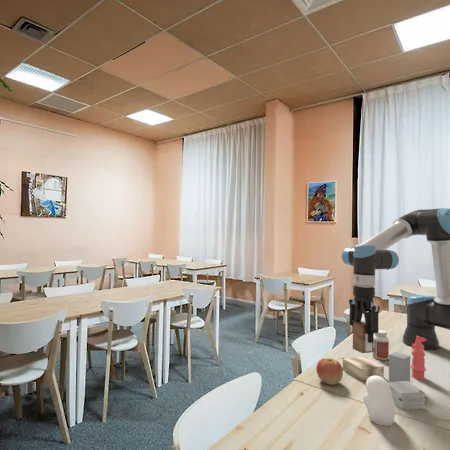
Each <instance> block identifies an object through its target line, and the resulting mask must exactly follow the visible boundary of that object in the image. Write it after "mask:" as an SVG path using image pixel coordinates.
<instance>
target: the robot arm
mask: <svg viewBox="0 0 450 450" xmlns="http://www.w3.org/2000/svg"><path fill="white" fill-rule="evenodd" d="M412 236H426V241H427V242H428V243H430V245H431V252H432V253H431V255H432V261H433V263H432V264H433V270H434V271H433V272H434V280H435V288H436V296H434V295H410V296H408V297H407V302H406V327H405V330H404V331H403V335H402V342H403V344H405V345H408V346H410V347H412V344H415V341H416V338H417V337H416V336H420V337H422V338H425V339H426V340H427V341H424V342H422V343H421V344H422V345H424V350H437V349H439V348H440V341H439V339H438V335H437V332H436V327H437V328H441V329H445V330H449V331H450V208H449V207H448V208H445V207H443V208H442V207H441V208H428V209H416V210H413V211H411V212H408V213H406V214H404V215H402V216H400V217H399V218H396V219H394V221H393V222H392V224H391V225H390V226H388V227H386V228H384V229H383V230H381V231H379V232H378V233H377V234H375V235H373V236H372V237H370V238H369V239H367V240H365V241H364V242H363V243H360V244H356V245H354V246H353V247H346V248H344V249H343V251H342V253H341V259H342V262H343V263H344V264H345V265H347V266H350V267H351V266H352V267H353V277H352V278H353V286H352V294H353V296H354V298H350V299H348V303H349V318H348V319H349V325H350V326H352V327H353V322H361V321H362V319H363V316H364V322H365V323H366V330H367V332H365V351H366V352H368V351H372V343H373V336H374V335H375V333H378V330H379V312H380V308H381V306H379V305H376V303H375V304H374V302H375V301H374V297H375V296H376V295H375V294H376V288H375V285H376V270H388V271H389V270H393V269H395V268H397V267H398V265H399V262H400V259H399V255H398V254H397V252H396V251H394V250H391V249H389V248H390V247H392V246H393V245H395V244H396V243H398V242H400V241H401V240H403V239H408V238H410V237H412ZM370 329H371V330H370Z"/></svg>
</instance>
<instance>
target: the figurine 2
mask: <svg viewBox="0 0 450 450" xmlns="http://www.w3.org/2000/svg"><path fill="white" fill-rule="evenodd" d="M416 337H417V338H416V341H415V344H412V346H411V348H412V350H411V355H412V359H411V364H410V369H412V370H411V371H412V372H411V376H412V378H413V379H417V380H419V381H421V380H425V372H426V371H427V368H426V366H425V361H426V360H425V356H426V353H425V351H424V350H425V349H424V345H422V344H421V343H422V342H424V341H427V340H426V339H425V338H422V337H420V336H416Z"/></svg>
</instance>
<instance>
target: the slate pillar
mask: <svg viewBox="0 0 450 450" xmlns="http://www.w3.org/2000/svg"><path fill="white" fill-rule="evenodd" d="M397 381H408V382H410V383H411V355H409V354H405V353H402V352H398V351H393V352H391V353H389V358H388V382H397Z"/></svg>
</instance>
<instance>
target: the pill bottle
mask: <svg viewBox="0 0 450 450" xmlns="http://www.w3.org/2000/svg"><path fill="white" fill-rule="evenodd" d="M387 335H388V332H387V331H386V330H381V329H378V333H374V335H373V352H372V357H373V358H374V359H377V360H381V361H386V360H389V354H390V351H389V347H390V346H389V341H390V339H389V338H388V336H387Z"/></svg>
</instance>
